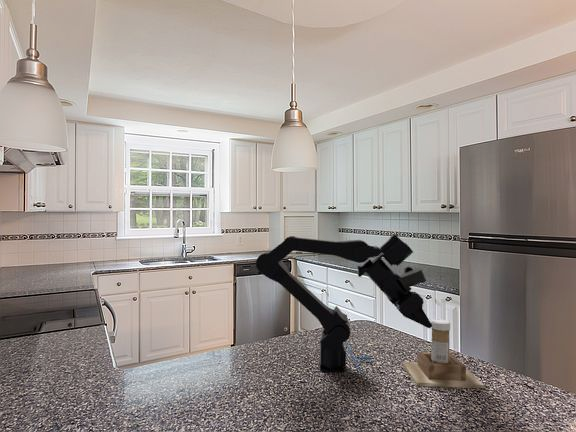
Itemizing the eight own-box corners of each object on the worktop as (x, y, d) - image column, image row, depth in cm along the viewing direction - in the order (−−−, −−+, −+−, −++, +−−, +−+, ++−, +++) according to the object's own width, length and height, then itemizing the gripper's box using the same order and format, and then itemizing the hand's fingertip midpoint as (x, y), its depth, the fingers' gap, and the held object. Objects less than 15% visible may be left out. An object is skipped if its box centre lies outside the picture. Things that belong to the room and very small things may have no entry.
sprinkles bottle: (451, 372, 95) (452, 320, 95) (447, 378, 91) (447, 324, 91) (433, 367, 98) (433, 317, 98) (428, 373, 94) (429, 321, 94)
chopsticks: (359, 339, 119) (344, 339, 119) (380, 370, 94) (360, 371, 94) (360, 343, 119) (344, 343, 119) (380, 376, 94) (360, 377, 94)
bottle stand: (417, 385, 88) (417, 368, 88) (402, 364, 101) (402, 349, 101) (484, 388, 88) (484, 370, 88) (460, 366, 101) (461, 351, 101)
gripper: (415, 260, 87) (462, 309, 86) (399, 255, 106) (438, 295, 104) (380, 291, 88) (426, 340, 86) (371, 280, 106) (409, 321, 105)
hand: (425, 322), depth 95 cm, fingers open, 9 cm apart
